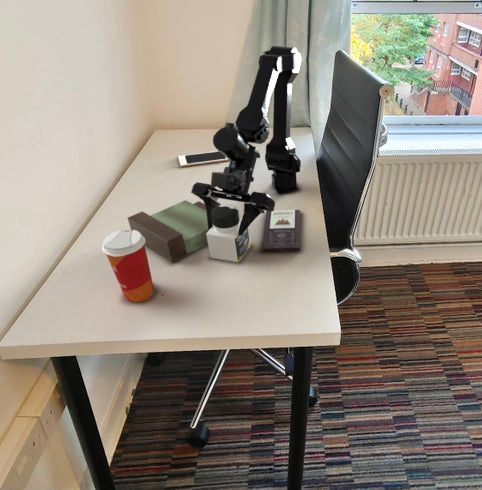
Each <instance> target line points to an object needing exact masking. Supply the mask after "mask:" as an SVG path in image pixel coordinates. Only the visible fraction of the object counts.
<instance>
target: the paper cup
mask: <svg viewBox="0 0 482 490" xmlns="http://www.w3.org/2000/svg"><path fill="white" fill-rule="evenodd" d="M144 244H145V238H144V237H143V236H142V235H141V234H140V233H139V232H138V231H136V230H133V231H131V229H124V230H123V229H120V230H117V231H114V232H111V233H109V234H108V235H106V237H105V238H103V241H102V245H101V250H102V252H103V253H104V254H105V255H106V258H107V260H108V262H109V264H110V267H111V269H112V271H113V273H114V275H115V278H116V280H117V282H118V284H119V287H120V290H121V292H122V293H123V296H124V298H125V299H126V300H127V301H128V302H131V303H140V302H144V301H147V300H148V299H149V298H151V297H152V296H153V295H154V291H155V287H154V283H153V278H152V274H151V273H152V272H151V269H150V268H151V267H150V263H149V258H148V255H147V250H146V246H145V245H144Z"/></svg>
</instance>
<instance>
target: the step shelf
mask: <svg viewBox="0 0 482 490" xmlns="http://www.w3.org/2000/svg"><path fill="white" fill-rule="evenodd" d="M127 221H128V225H129V228H130V230H131V231H133V230H136V231H138V232H139V233H140V234H141V235H142V236H143V237H144V238H145V244H144V245H145V247H146V248H148V249H150V250H151V251H153V252H154V253H156V254H157V255H159V256H161V257H162V258H164V259H166V260H167V261H169V262H170V263H172V264H173V263H175V262H178V261H179V260H181V259H183V258H184V257H186V256H189V255H190V254H192V253H194V252H195V251H198V250H199V249H201V248H203V247H205V246H207V245H208V240H207V235H206V234H207V232H208V231H209V229H208V222H207V212H206V207H205V203H204V202H203V201H199V200H198V201H196V202H194V203H193V202H190V201H188V200H186V199H185V200H182V201H180V202H178V203H175V204H173V205H171V206H169V207H167V208H164V209H161V210H159V211H157V212H155V213H153V214H148V213H147V212H145V211H140V212H138V213H137V212H136V213H135V214H133V215H130V216H128V217H127Z"/></svg>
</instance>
